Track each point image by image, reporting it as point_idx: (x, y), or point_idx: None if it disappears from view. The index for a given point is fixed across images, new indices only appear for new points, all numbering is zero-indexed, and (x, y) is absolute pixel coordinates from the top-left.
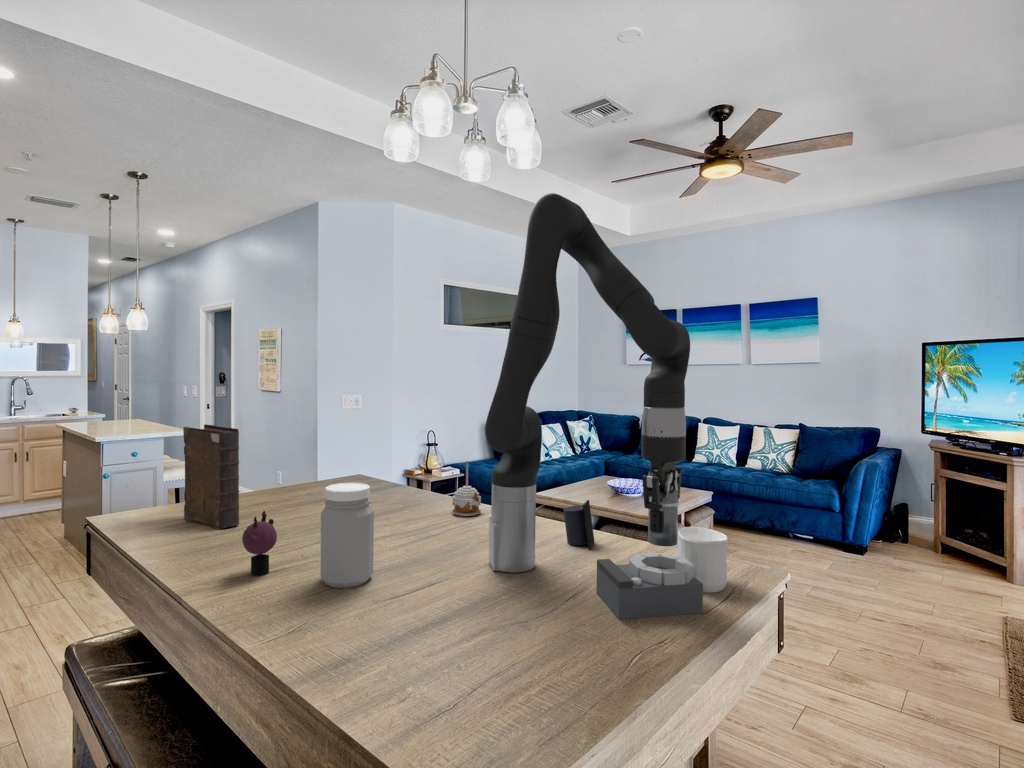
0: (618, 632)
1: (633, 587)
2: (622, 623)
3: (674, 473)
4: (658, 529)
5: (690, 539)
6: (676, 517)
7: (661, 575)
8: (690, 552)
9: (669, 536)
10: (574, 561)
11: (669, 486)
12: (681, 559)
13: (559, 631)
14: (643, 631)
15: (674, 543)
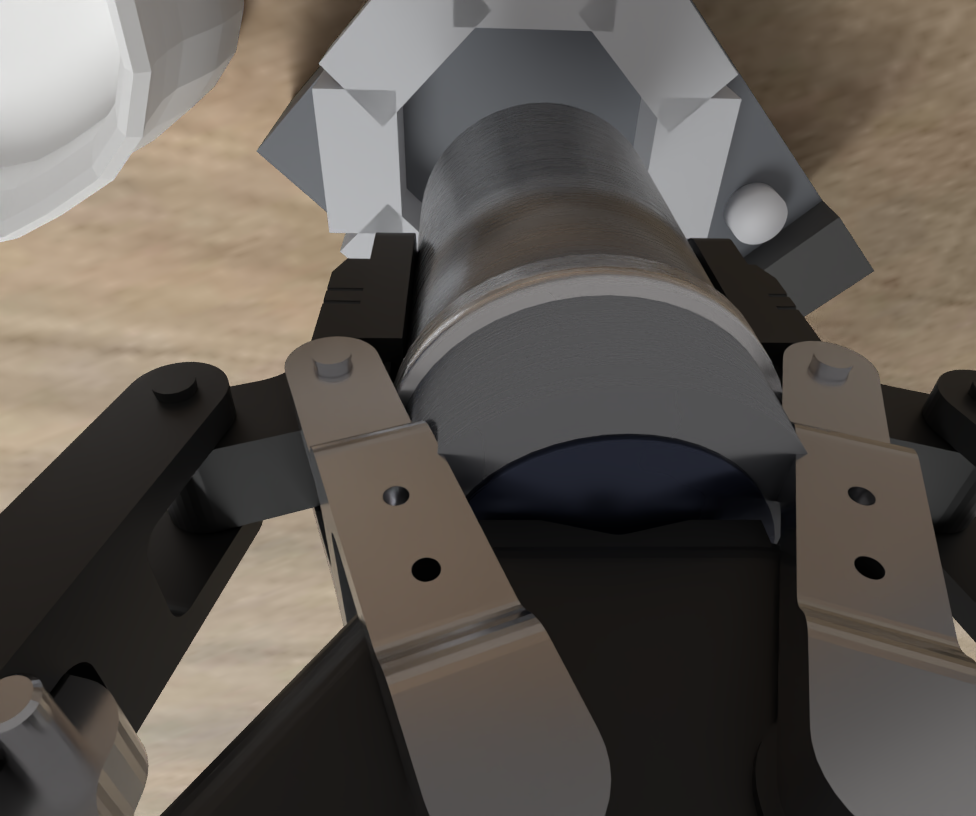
0: (932, 143)
1: (810, 201)
2: (834, 162)
3: (605, 794)
4: (761, 274)
5: (135, 78)
6: (591, 203)
7: (730, 94)
8: (168, 50)
9: (644, 172)
10: (309, 531)
11: (829, 557)
12: (372, 65)
13: (970, 325)
14: (894, 47)
15: (586, 115)
